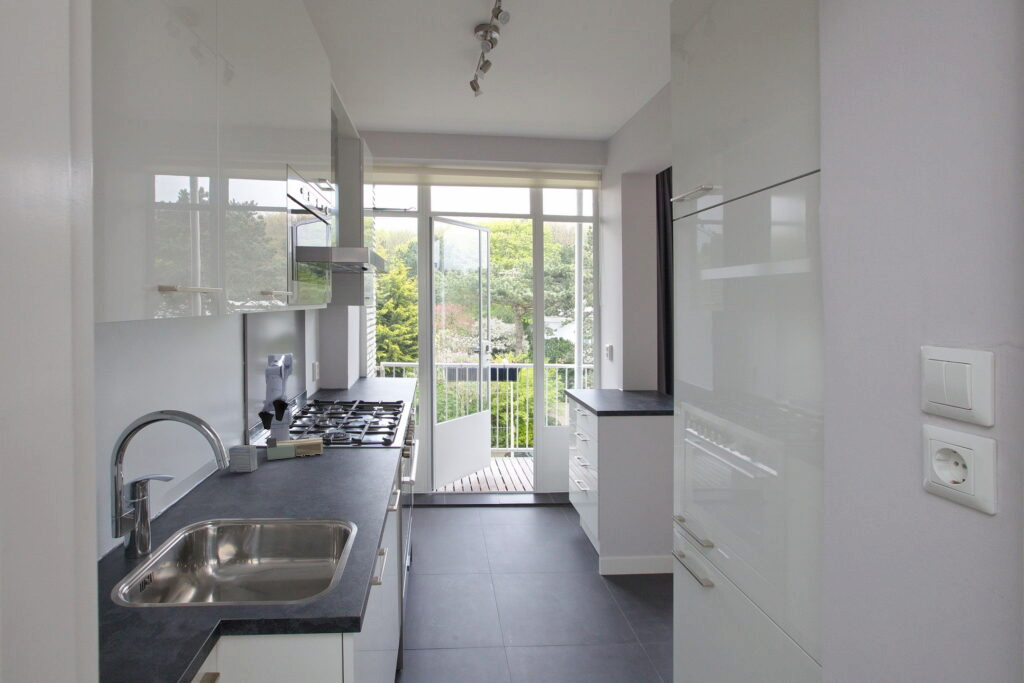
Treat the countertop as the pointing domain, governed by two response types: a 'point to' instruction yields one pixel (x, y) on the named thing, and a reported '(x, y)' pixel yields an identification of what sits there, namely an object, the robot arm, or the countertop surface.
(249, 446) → the medicine box
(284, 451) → the side door
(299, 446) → the tan rectangular box
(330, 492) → the countertop surface
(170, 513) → the countertop surface
